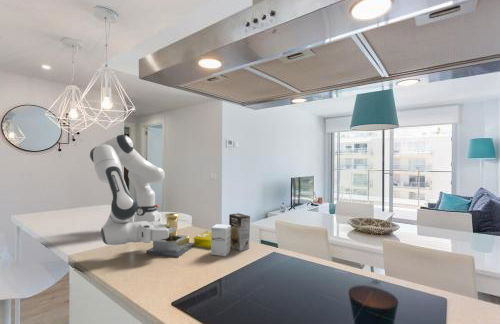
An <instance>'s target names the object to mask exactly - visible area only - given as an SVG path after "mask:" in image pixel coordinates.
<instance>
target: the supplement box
mask: <svg viewBox="0 0 500 324" xmlns="http://www.w3.org/2000/svg"><path fill="white" fill-rule="evenodd" d="M210 231H211V248H210V255H213V256H223V257H227V255H228V254H230V252H231V247H230V243H231V225H229V224H220V223H216V224H214V225H213V226H211V230H210Z"/></svg>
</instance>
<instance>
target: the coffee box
mask: <svg viewBox="0 0 500 324" xmlns="http://www.w3.org/2000/svg"><path fill="white" fill-rule="evenodd" d="M228 218H229V223H228V225H231V243H230V248H232V249H235V250H237V251H240V252H241V251H246V250H249V249H250V232H251V231H250V230H251V216H250V215H247V214H242V213H239V212H238V213H232V214H231V213H230V214H229V216H228Z"/></svg>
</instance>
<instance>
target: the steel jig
mask: <svg viewBox="0 0 500 324" xmlns="http://www.w3.org/2000/svg"><path fill="white" fill-rule="evenodd" d="M194 244H195V243H194V242H190V235H183V234H182V235H181V234H177V240H176V241H169V240H166V239H162V240H157V241H152V247H151V248H149V249H147V250H146V255H151V254H154V256H161V255H164V256H163V257H171V256H175V257H174V258H180V257H181V256H183V255H184V254H186V253H187V252H189V251H190V250H191V249H193V248H194V247H195V245H194ZM185 252H186V253H185ZM179 256H180V257H179Z"/></svg>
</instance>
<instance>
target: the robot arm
mask: <svg viewBox="0 0 500 324" xmlns="http://www.w3.org/2000/svg"><path fill="white" fill-rule="evenodd" d="M134 147H135V145H134V142H133V140H132V139H131V137H129V135H127V134H120V135H119V134H118V135H116V137H115V136H114V137H112V138H109V139H108V140H105V141H104V142H102V143H100V144H99V145H98V146H95V147H94V148H92V149H91V150H90V151H89V152H90V153H89V157H90V160H91V161H92V162H93V165H94V169H95V172H96V175H97V178H98V179H99V180H100V181H101V182H103V183H105V184H106V183H107V184H109V188H110V191H111V192H110V193H111V195H112V200H111V207H110V213H109V216H108V218H107V220H106V222H105V223H104V225H103V226H102V227H101V229H100V233H101V240H102V242H103V244H105V245H106V246H116V245H117V246H119V245H125V244H126V245H127V244H129V243H145V244H150V243H151V242H153V241H157V240H162V239H166V238H168V237H169V233H171V232H175V231H176V228H175V227H172V228H166V226H167V221H165V220H164V218H163V214H161V213H160V212H159V211H158V208H159V207H160V205H159V204H156V192H155V191H154V190H153V189H152V188H151V185H156V184H161V183H163V181H164V180H165V179H166V178H165V177H166V173H165V170H164V169H163V168H162V167H160V166H159V167H158V166H157V165H155V164H153V163H151V162H149V161H148V160H147V159H145V158H144V157H143V156H141V154H140V153H139V152H138V151H137V150H136V149H135V148H134ZM122 166H123V167H124V168H125V169H126V170H127V171H128V174H127V177H128V179H129V181H130V182H131V183H132V184H133V186H134V189H135V195H136V198H135V197H134V196H133V195H132V193H131V192H130V190H129V189H128V186H127V183H126V180H125V178H124V174H123V167H122Z"/></svg>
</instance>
